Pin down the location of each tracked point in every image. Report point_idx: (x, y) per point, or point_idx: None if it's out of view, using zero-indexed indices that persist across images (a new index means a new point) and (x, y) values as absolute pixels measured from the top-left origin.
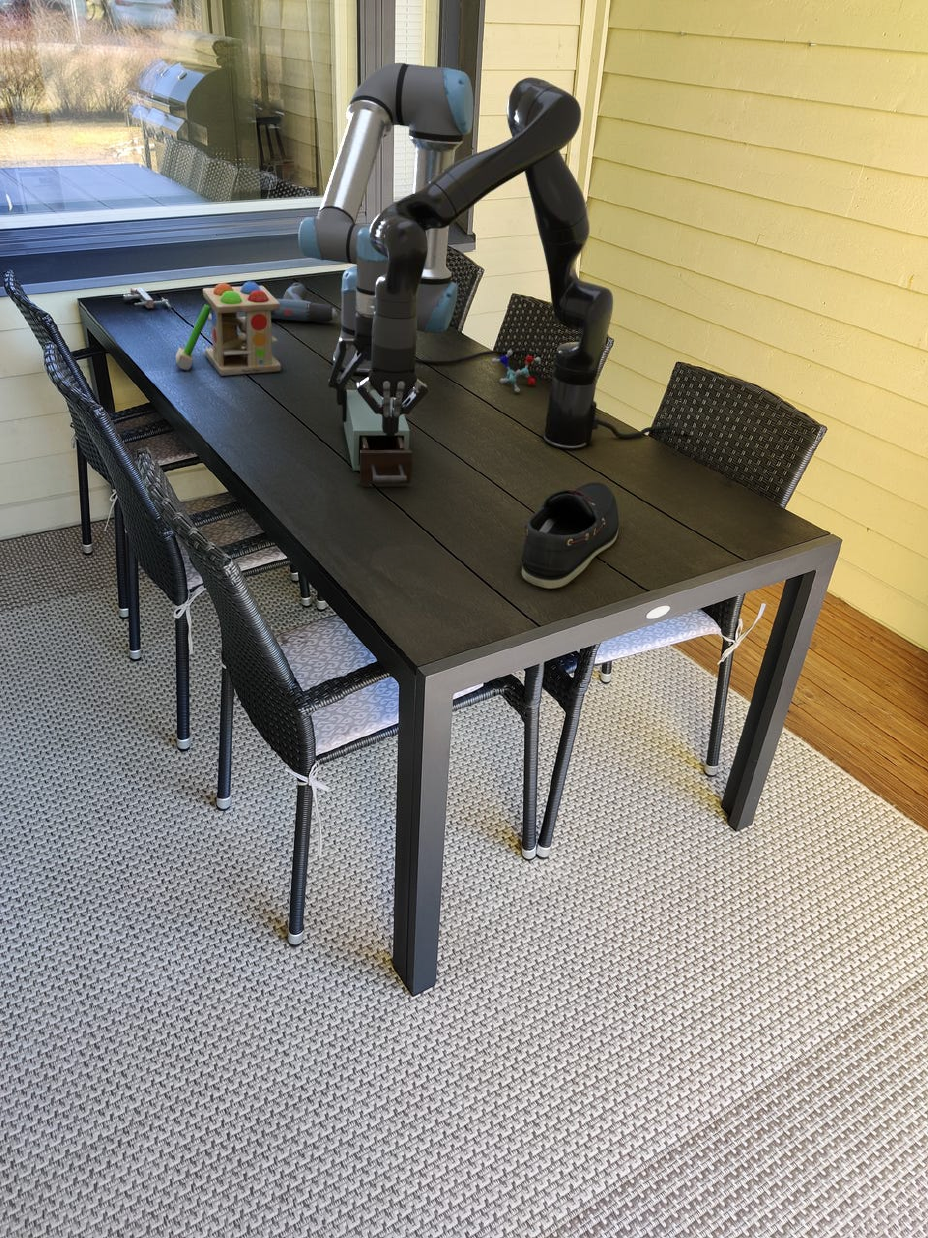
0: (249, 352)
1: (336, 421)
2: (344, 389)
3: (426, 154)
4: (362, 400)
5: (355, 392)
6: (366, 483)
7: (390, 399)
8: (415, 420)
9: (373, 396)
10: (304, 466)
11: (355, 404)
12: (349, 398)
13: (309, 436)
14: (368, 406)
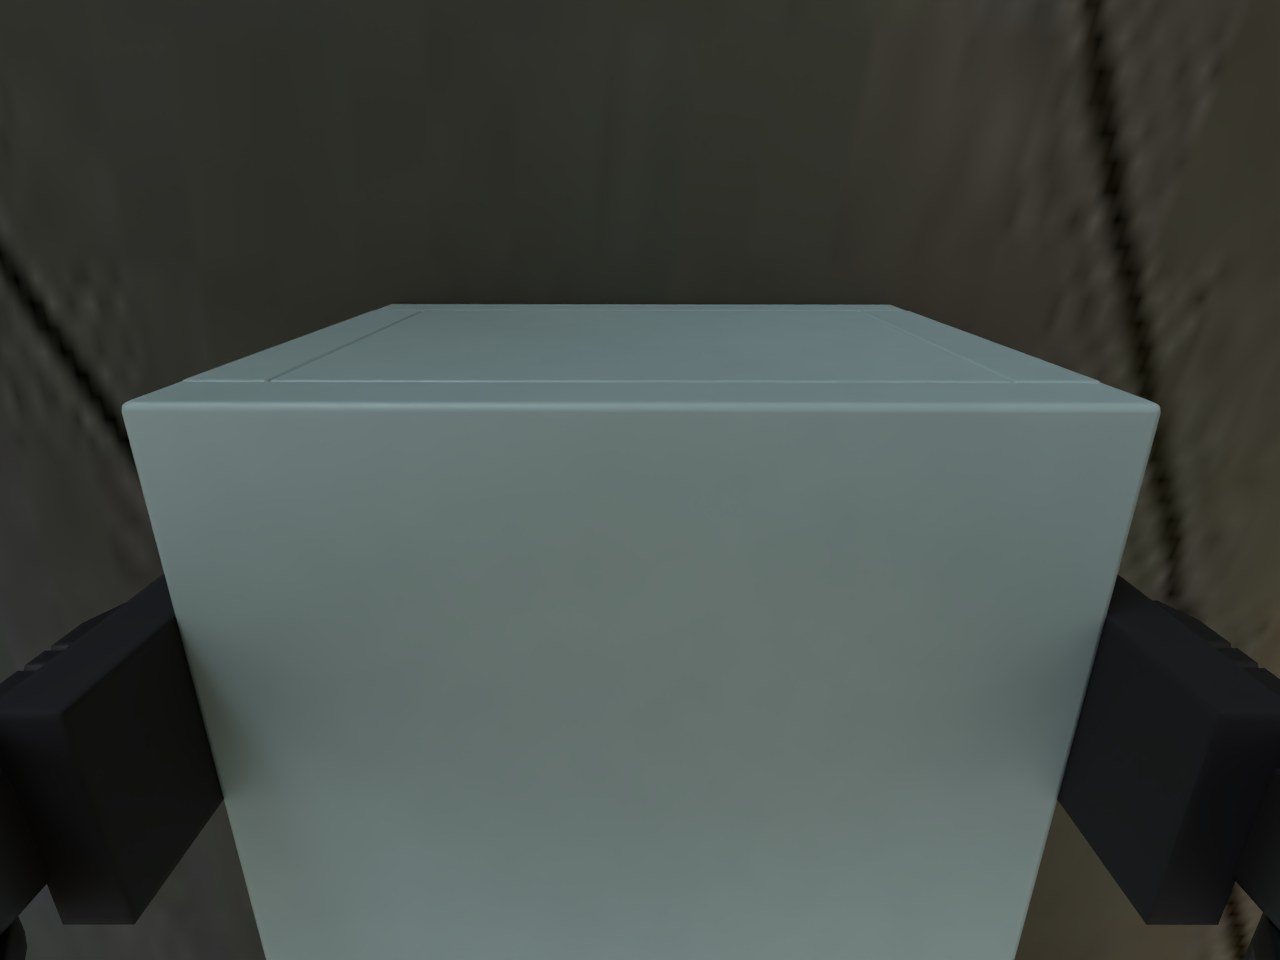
0: None
1: (301, 135)
2: (69, 848)
3: None
4: (469, 830)
5: (345, 534)
6: None
7: (919, 796)
8: (1182, 97)
9: (660, 694)
10: (160, 924)
11: (367, 943)
12: (261, 769)
13: (94, 498)
14: None
